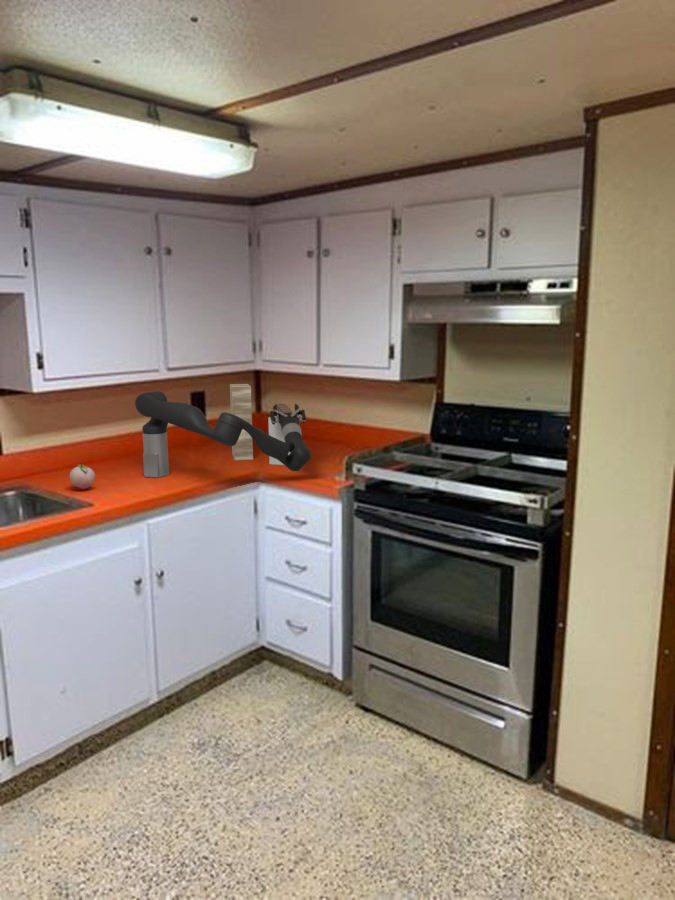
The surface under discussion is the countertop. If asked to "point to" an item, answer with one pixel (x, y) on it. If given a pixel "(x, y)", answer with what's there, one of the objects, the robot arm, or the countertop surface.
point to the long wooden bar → (283, 408)
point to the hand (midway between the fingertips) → (285, 405)
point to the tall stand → (243, 409)
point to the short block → (276, 433)
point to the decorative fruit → (82, 476)
